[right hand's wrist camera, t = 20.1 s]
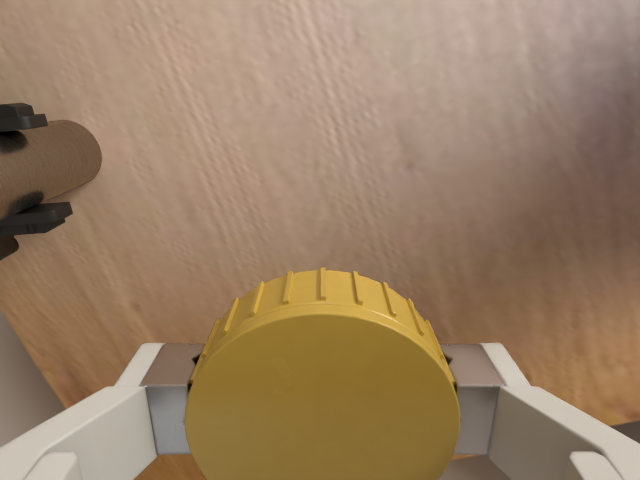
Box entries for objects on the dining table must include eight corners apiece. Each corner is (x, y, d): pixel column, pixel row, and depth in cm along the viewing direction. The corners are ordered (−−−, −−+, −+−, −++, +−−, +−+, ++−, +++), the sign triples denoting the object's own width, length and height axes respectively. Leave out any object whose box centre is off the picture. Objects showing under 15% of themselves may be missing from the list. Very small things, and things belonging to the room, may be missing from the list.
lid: (409, 233, 9) (430, 272, 7) (461, 432, 11) (488, 500, 9) (164, 305, 10) (130, 355, 8) (254, 481, 12) (242, 553, 10)
